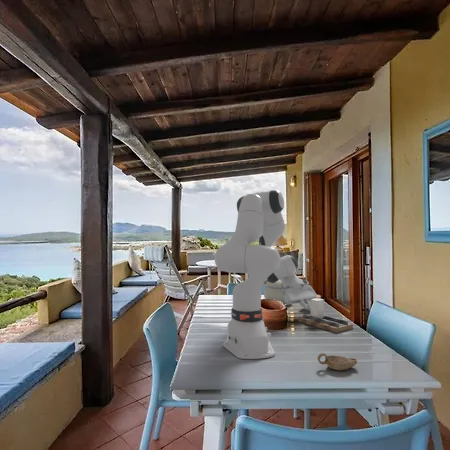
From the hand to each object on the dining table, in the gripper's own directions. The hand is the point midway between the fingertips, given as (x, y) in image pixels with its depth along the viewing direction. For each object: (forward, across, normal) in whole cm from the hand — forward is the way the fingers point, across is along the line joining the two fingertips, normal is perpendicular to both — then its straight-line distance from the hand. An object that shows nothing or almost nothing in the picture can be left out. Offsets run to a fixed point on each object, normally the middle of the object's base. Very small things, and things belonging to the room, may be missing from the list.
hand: (308, 308), depth 173 cm
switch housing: (+11, 0, -3) cm, 12 cm away
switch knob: (+6, 0, -2) cm, 7 cm away
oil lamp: (+36, -38, -28) cm, 59 cm away
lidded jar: (-6, +20, +15) cm, 25 cm away
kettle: (-22, +16, +31) cm, 42 cm away
